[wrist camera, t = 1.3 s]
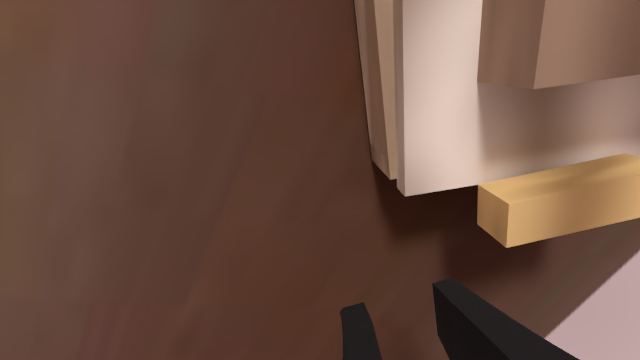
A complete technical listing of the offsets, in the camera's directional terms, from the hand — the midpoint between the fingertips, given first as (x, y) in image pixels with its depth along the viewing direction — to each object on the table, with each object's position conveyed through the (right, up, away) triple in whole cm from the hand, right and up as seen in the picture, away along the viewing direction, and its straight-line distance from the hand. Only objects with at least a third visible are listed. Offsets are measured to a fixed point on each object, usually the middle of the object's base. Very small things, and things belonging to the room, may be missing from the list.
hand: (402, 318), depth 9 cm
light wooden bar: (+8, +4, +5) cm, 10 cm away
